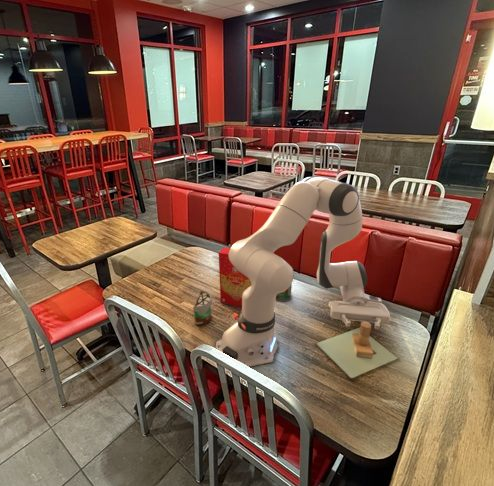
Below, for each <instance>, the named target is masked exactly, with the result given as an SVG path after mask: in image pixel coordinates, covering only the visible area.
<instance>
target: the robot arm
mask: <svg viewBox="0 0 494 486" xmlns="http://www.w3.org/2000/svg"><path fill="white" fill-rule="evenodd" d="M315 210H316V211H318V212H321V213H323V214H326V215H327V214H328V220H329V223H328V226H327V228H326V230H324V231H323V232H322V233H321V235H320V242H319V243H320V244H319V255H318V265H317V270H316V280H317V282H318V285H319V286H321V287H322V288H324V289H326V290H328V289H333V288H339V289H340V295H341V297H342V300H330V301H328V305H327V306H328V308H330V309H329V316H330V318H331V319H334V320H339V321H341V322H342V323H343V324H344V325H345V327H348V328H349V327H351V325H352V322H360V323H361V322H369V323H370V324H373V329H374V330H377V331H379V330H380V329H381V325H389V323H390V322H391V313H390V311H389V309H388V307H386V305H385V304H383V302H382V301H383V300H382V298H381V297H377V296H373V295H369V294H367V293H365V288H366V286H367V285H368V275H367V271H366V268H365V266H364V264H362V263H361V262H360V261H359V260H350V261H342V262H332V263H331V262H330V261H331V254H332V252H333V250H334V249H336V248H337V247H339V246H341V245H343V244H345V243H349V242H351V241H352V240H354V239H355V238H357V237H358V236H359V235H360V233H361V232H362V229H363V210H362V205H361V200H360V196H359V192H358V189H357V188H356V187H355V186H353V185H351V184H349V183H346V182H341V181H338V180H334V179H332V178H327V177H318V176H307V177H305V178H303V179H302V180H301V181H298V182H296V183H294V184H293V185H292V186H291V187H290V188H289V189H288V190H287V192H286V193H285V194H284V195H283V196H282V198H280V200H279V202H278V203H277V205H276V207H275V208H274V209H273V211H272V212H271V214H270V215H269V217H268V218H267V220H266V221H264V223H263V225H262V226H260V228H259V229H257V231H255V232H254V233H253V234H251V235H250V236H248V237H246V238H243V239H240V240H237V241H236V242H234V243H233V244H232V245H231V247H230V248H231V249H230V251H229V260H230V262H231V263H232V264H233V266H234V267H235V268H236V269H237V270H238V271H239V272H241V273H242V274H244V275H245V276H246V277H248V278H249V279H250V282H251V286H250V287H248V288H247V289H246V290H245V291H244V292H243V295H242V307H241V311H240V314H238V312H234V313H232V315H231V317H232V318H233V321H235V322H234V323H233V324H232V325H230V327H228V328H227V329H226V330H225V331H224V332H223V334H222V336H221V338H220V339H219V340H217V341H216V342H215V349H216V348H217V349H219V350H221V351H222V352H223V353H225V354H227V355H229V356H230V357H232V358H234V359H236V360H238V361H240V362H242V363H244V364H246V365H247V366H249V367H254V366H259V365H260V366H261V365H264V364H269V363H273V362H274V355H275V354H276V352H277V351H278V342H277V337H276V333H275V325H276V312H275V310H276V309H275V308H276V295H277V294H278V293H281V292H284V291H285V290H287V289H288V288H289V287H290V285H291V283H292V284H293V282H294V277H295V275H294V268H293V267H292V266H291V265H290V264H289V263H288V262H287V261H286V260H285V259H284V258H283V257H281V256H279V255H277V254H275V252H276V251H277V250H279V249H280V248H282V247H285V246H287V247H288V246H291V245H293V244H294V243H295V242H296V241H297V240H298V238H299V236H300V235H301V233H302V232H303V230H304V229H305V227H306V226H307V224H308V223H309V221H310V219H311V217H313V214H314V212H315ZM351 321H352V322H351Z"/></svg>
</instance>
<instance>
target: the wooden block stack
mask: <svg viewBox="0 0 494 486" xmlns="http://www.w3.org/2000/svg"><path fill="white" fill-rule="evenodd" d="M359 328H360V331H359V334H354V333H353V334H352V341H353V345H354V350H355V354H356V357H364V358H372V357H373V351H372V348H371V344H370V341H369V336H370V334H371V330H372V323H370V322H360V326H359Z"/></svg>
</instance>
